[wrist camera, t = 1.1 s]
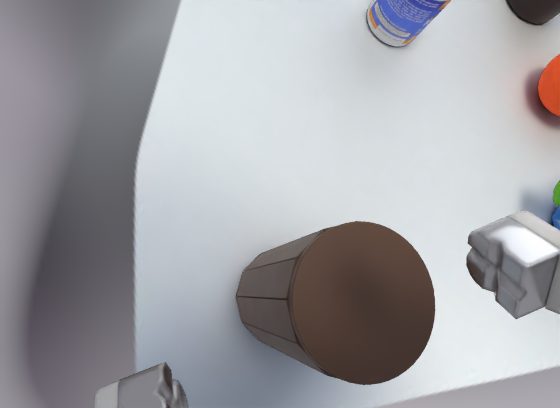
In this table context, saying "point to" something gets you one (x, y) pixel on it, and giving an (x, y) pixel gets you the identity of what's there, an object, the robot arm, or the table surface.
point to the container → (342, 302)
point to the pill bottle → (402, 18)
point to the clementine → (551, 86)
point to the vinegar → (536, 9)
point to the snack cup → (559, 200)
